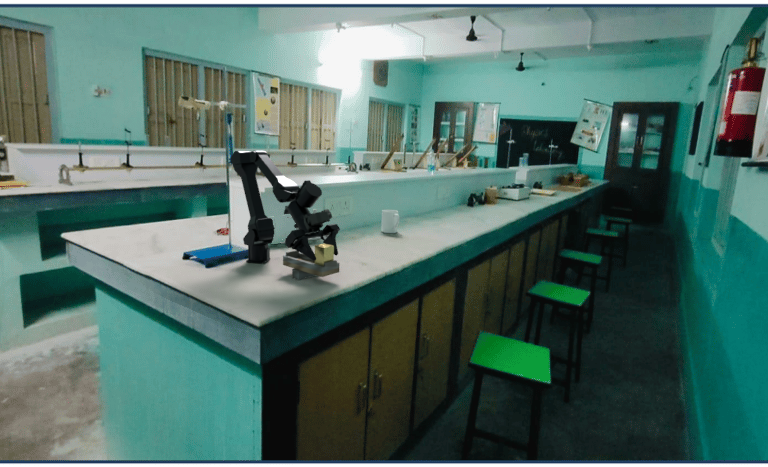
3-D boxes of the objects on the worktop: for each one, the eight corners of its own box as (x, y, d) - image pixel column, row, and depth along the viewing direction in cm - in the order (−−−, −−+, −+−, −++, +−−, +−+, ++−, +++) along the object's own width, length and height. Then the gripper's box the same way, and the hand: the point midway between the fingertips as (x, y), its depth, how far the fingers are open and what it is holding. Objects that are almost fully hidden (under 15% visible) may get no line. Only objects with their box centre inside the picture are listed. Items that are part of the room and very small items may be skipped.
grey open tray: (281, 274, 143) (281, 253, 142) (302, 268, 150) (302, 248, 149) (319, 287, 133) (320, 264, 131) (340, 280, 140) (341, 259, 138)
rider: (314, 267, 137) (314, 245, 135) (324, 264, 140) (324, 243, 138) (323, 270, 134) (324, 247, 133) (333, 267, 137) (333, 245, 136)
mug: (378, 230, 221) (379, 209, 219) (392, 229, 225) (393, 209, 222) (390, 235, 210) (391, 213, 208) (404, 234, 214) (405, 213, 212)
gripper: (291, 203, 128) (317, 247, 124) (336, 198, 143) (361, 237, 138) (274, 226, 135) (298, 268, 130) (319, 219, 149) (342, 257, 145)
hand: (326, 257), depth 136 cm, fingers open, 9 cm apart
